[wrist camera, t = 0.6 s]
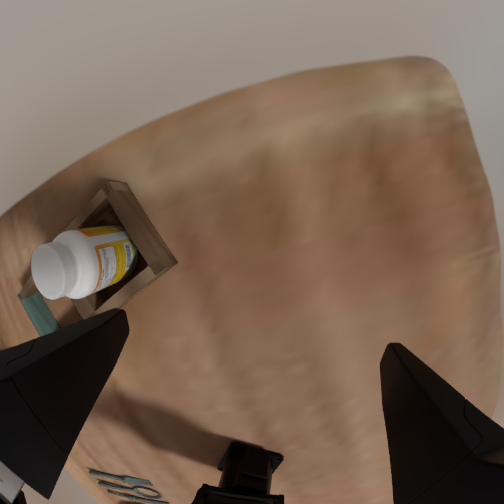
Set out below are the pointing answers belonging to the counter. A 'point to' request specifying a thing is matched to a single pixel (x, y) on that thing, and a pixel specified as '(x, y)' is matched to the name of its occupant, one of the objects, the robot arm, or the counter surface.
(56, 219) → the counter surface
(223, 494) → the robot arm
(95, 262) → the supplement bottle
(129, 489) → the cutlery set
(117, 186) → the slot rack
